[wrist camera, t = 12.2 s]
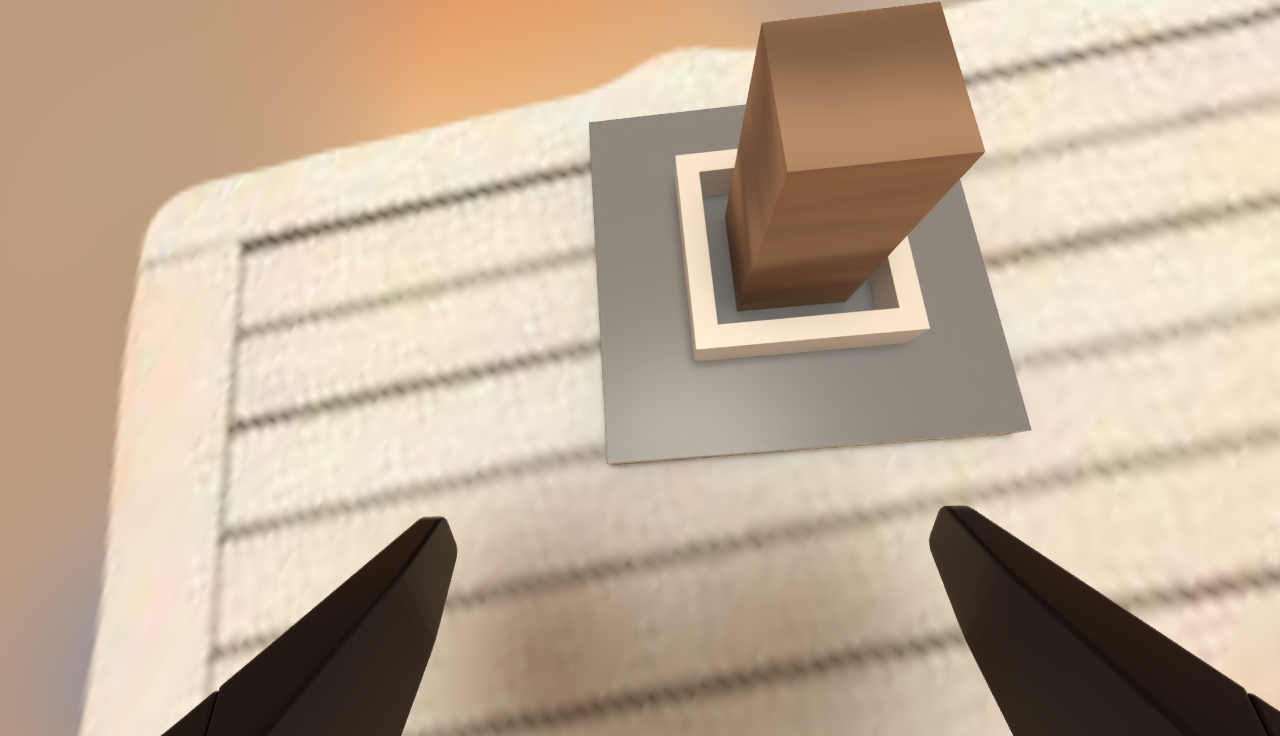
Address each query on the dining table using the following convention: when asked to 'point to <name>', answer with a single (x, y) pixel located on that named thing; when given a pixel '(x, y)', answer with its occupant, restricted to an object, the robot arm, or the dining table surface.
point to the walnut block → (843, 150)
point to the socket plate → (776, 318)
